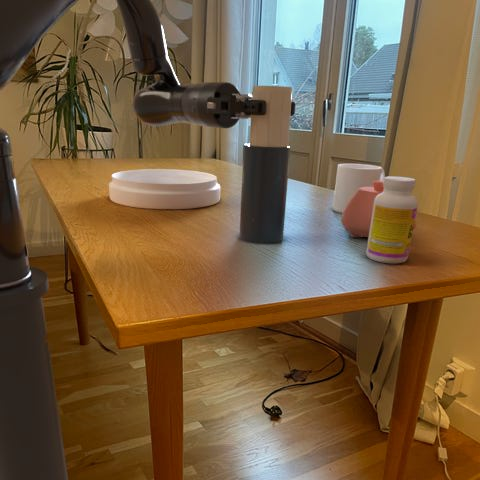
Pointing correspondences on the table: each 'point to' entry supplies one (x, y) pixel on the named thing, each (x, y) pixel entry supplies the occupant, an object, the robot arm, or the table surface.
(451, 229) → the table surface
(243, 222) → the flask
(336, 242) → the table surface
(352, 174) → the mug
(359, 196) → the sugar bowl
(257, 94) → the beige faceted cylinder
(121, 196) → the plate
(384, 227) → the supplement bottle
